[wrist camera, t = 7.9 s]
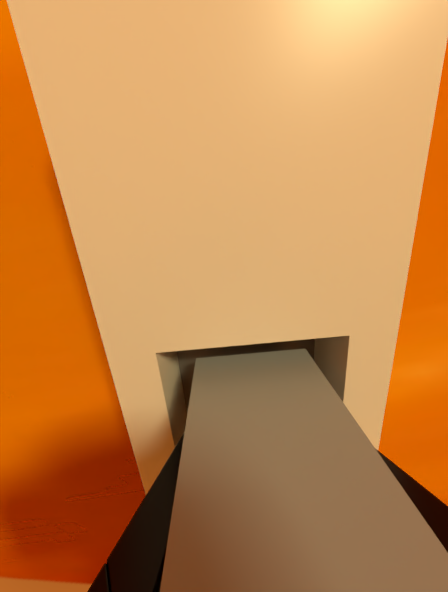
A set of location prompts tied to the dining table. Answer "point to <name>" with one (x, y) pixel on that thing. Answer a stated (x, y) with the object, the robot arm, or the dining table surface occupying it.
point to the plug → (288, 490)
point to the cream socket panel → (238, 183)
